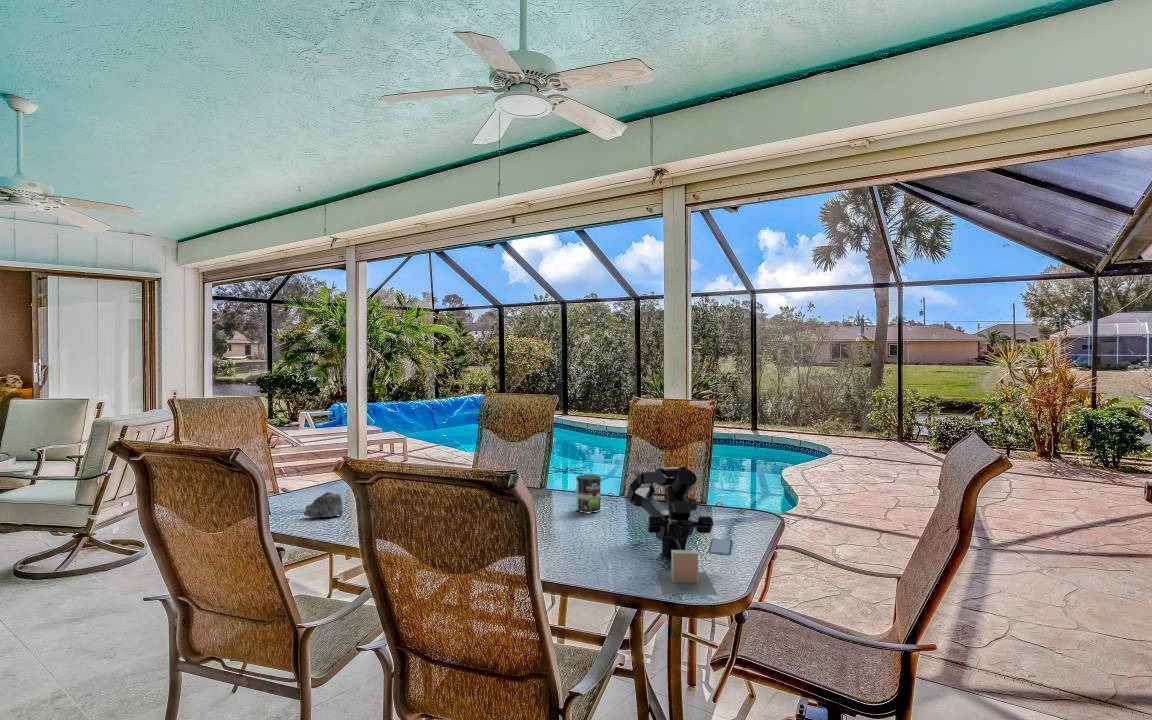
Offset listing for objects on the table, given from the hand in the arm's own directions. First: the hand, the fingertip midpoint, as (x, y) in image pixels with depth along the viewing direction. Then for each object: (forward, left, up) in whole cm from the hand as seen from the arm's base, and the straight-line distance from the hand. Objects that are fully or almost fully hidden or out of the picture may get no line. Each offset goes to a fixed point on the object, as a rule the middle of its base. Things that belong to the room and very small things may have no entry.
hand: (683, 551), depth 165 cm
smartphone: (-28, +17, -8) cm, 34 cm away
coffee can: (-76, -28, -7) cm, 82 cm away
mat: (+7, 0, -7) cm, 10 cm away
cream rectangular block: (+6, 0, -6) cm, 9 cm away
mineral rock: (-61, -133, -8) cm, 147 cm away
